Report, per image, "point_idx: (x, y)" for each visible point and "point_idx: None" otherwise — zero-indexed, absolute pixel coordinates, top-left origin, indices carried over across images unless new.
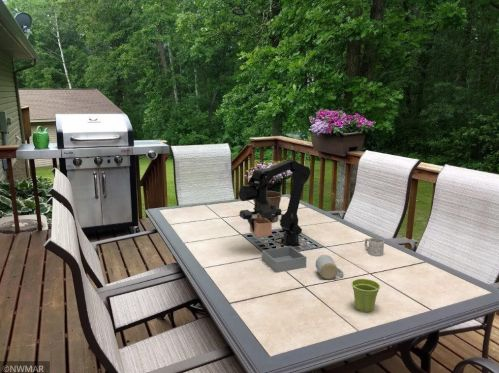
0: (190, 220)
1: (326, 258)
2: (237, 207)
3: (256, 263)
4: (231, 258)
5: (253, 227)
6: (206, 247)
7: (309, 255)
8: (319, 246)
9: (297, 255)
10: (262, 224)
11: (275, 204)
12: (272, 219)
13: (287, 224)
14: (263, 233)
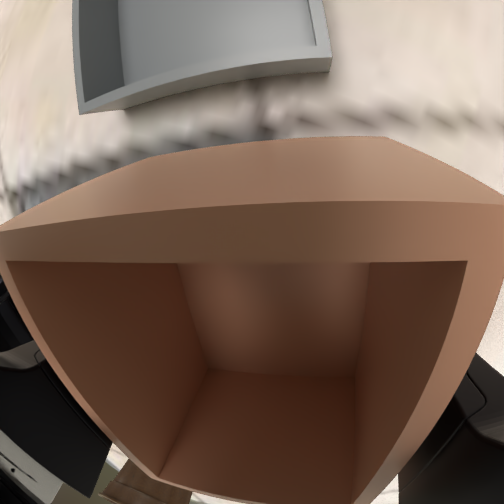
0: (380, 495)
1: None
2: (233, 501)
3: (383, 38)
4: (497, 189)
5: None
6: (497, 360)
7: (51, 104)
8: (17, 203)
9: (94, 12)
10: (246, 193)
11: (125, 481)
12: (8, 354)
13: (14, 309)
14: (268, 146)
